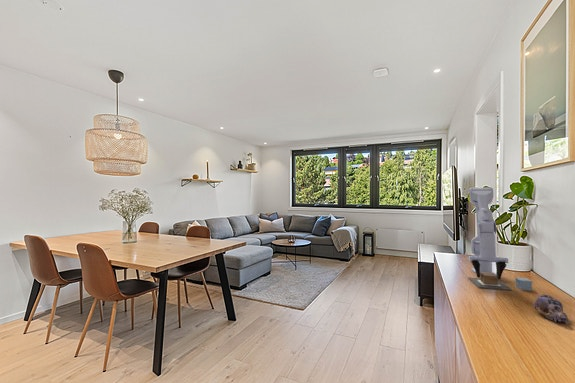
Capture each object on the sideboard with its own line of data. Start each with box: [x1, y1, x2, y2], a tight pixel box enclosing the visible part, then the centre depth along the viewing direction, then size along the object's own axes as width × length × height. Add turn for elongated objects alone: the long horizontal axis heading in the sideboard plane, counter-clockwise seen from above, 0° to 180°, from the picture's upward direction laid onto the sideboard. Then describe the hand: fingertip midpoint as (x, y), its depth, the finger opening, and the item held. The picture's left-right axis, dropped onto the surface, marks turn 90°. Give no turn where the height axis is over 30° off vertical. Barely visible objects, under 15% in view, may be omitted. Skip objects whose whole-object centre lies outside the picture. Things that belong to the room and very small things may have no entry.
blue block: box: [515, 277, 533, 291], centre depth 115 cm, size 4×4×4 cm
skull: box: [533, 294, 569, 325], centre depth 88 cm, size 12×8×6 cm, turn 150°
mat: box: [468, 277, 513, 292], centre depth 120 cm, size 14×12×1 cm
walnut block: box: [480, 272, 499, 285], centre depth 120 cm, size 5×5×4 cm
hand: (488, 277), depth 120 cm, fingers open, 7 cm apart
